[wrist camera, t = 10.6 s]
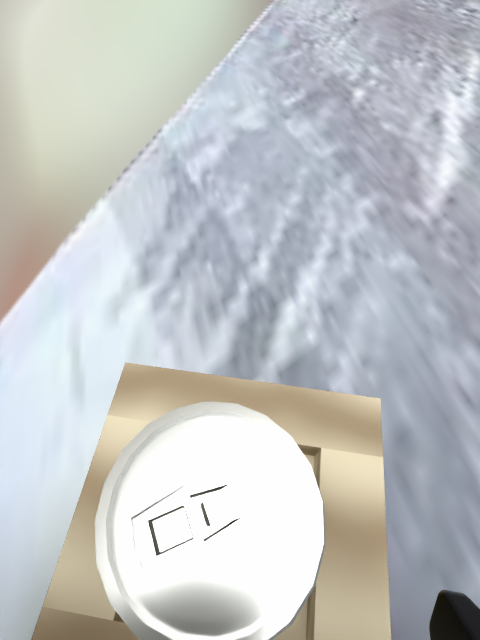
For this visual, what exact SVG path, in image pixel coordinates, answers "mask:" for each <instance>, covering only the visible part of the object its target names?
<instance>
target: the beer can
mask: <svg viewBox="0 0 480 640" xmlns="http://www.w3.org/2000/svg"><path fill="white" fill-rule="evenodd" d="M325 546H326V545H325V513H324V503H323V500H322V496H321V493H320V490H319V487H318V484H317V481H316V477H315V474H314V471H313V469H312V467H311V465H310V463H309V462H308V460H307V459H306V457H305V456H304V454H303V453H302V451H301V450H300V448H299V447H298V445H297V444H296V442H295V441H294V439H293V438H292V436H291V435H289V434H288V433H287V432H286V431H285V430H283V429H282V428H281V427H280V426H278V425H277V424H276V423H275V422H274V421H272V420H271V419H270V418H269V417H268V416H266V415H264V414H262V413H259V412H257V411H254V410H252V409H249V408H247V407H244V406H242V405H239V404H236V403H223V402H210V401H205V402H201V403H197V404H192V405H188V406H183V407H179V408H175V409H174V410H172V411H170V412H168V413H167V414H165V415H163V416H161V417H160V418H158V419H156V420H154V421H152V422H151V423H149V424H147V425H146V426H145V427H144V428H143V429H142V430H141V431H140V432H139V433H138V434H137V435H136V436H135V437H134V438H133V440H132V441H131V442H130V443H129V444H128V445H127V446H126V447H125V448H124V449H123V450H122V452H121V453H120V455H119V457H118V459H117V461H116V462H115V464H114V466H113V468H112V470H111V471H110V473H109V475H108V477H107V478H106V480H105V482H104V486H103V490H102V494H101V498H100V502H99V506H98V510H97V514H96V518H95V548H96V564H97V567H98V570H99V573H100V576H101V579H102V582H103V585H104V588H105V591H106V594H107V597H108V600H109V603H110V604H111V606H112V607H113V608H114V609H115V611H116V612H117V613H118V615H119V616H120V617H121V618H122V620H123V621H124V622H125V623H126V625H127V626H128V627H129V629H130V630H131V631H132V632H133V634H134V635H135V636H136V637H137V638H139V639H141V640H273V639H274V638H276V637H277V636H278V635H279V634H281V633H282V632H283V631H284V630H286V629H287V628H288V627H289V626H291V625H292V623H293V622H294V620H295V619H296V617H297V615H298V614H299V612H300V610H301V609H302V607H303V606H304V604H305V602H306V601H307V599H308V597H309V596H310V594H311V593H312V591H313V589H314V588H315V585H316V581H317V577H318V573H319V569H320V565H321V561H322V557H323V554H324V550H325Z"/></svg>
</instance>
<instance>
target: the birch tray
mask: <svg viewBox="0 0 480 640" xmlns="http://www.w3.org/2000/svg"><path fill="white" fill-rule="evenodd" d="M205 401H210V402H223V403H236V404H239V405H242V406H244V407H247V408H249V409H252V410H254V411H257V412H259V413H262V414H264V415H266V416H268V417H269V418H270V419H271V420H272V421H274V422H275V423H276V424H277V425H278V426H280V427H281V428H282V429H283V430H285V431H286V432H287V433H288V434H289V435H291V436H292V438H293V439H294V441H295V442H296V444H297V445H298V447H299V448H300V450H301V451H302V453H303V454H304V456H305V457H306V459H307V460H308V462H309V463H310V465H311V467H312V469H313V471H314V474H315V477H316V481H317V484H318V487H319V490H320V493H321V496H322V500H323V503H324V513H325V545H326V546H325V550H324V554H323V557H322V561H321V565H320V569H319V573H318V577H317V581H316V585H315V588H314V589H313V591H312V593H311V594H310V596H309V597H308V599H307V601H306V602H305V604H304V606H303V607H302V609H301V610H300V612H299V614H298V615H297V617H296V619H295V620H294V622H293V623H292V625H291V626H289V627H288V628H287V629H286V630H284V631H283V632H282V633H281V634H279V635H278V636H277V637H276V638H274V639H273V640H391V624H390V601H389V579H388V557H387V535H386V512H385V490H384V468H383V446H382V423H381V401H380V398H373V397H366V396H359V395H352V394H344V393H337V392H330V391H323V390H316V389H309V388H302V387H295V386H288V385H281V384H274V383H267V382H259V381H252V380H245V379H238V378H231V377H224V376H217V375H210V374H203V373H196V372H189V371H182V370H174V369H167V368H160V367H153V366H146V365H139V364H132V363H125V365H124V368H123V371H122V374H121V377H120V380H119V383H118V386H117V389H116V392H115V395H114V397H113V400H112V403H111V406H110V409H109V412H108V415H107V418H106V421H105V424H104V427H103V430H102V433H101V436H100V439H99V442H98V445H97V448H96V450H95V453H94V456H93V459H92V462H91V465H90V468H89V471H88V474H87V477H86V480H85V483H84V486H83V489H82V492H81V495H80V498H79V501H78V503H77V506H76V509H75V512H74V515H73V518H72V521H71V524H70V527H69V530H68V533H67V536H66V539H65V542H64V545H63V548H62V551H61V554H60V556H59V559H58V562H57V565H56V568H55V571H54V574H53V577H52V580H51V583H50V586H49V589H48V592H47V595H46V598H45V601H44V604H43V607H42V609H41V612H40V615H39V618H38V621H37V624H36V627H35V630H34V633H33V636H32V639H31V640H141V639H139V638H137V637H136V636H135V635H134V634H133V632H132V631H131V630H130V629H129V627H128V626H127V625H126V623H125V622H124V621H123V620H122V618H121V617H120V616H119V615H118V613H117V612H116V611H115V609H114V608H113V607H112V606H111V604H110V603H109V600H108V597H107V594H106V591H105V588H104V585H103V582H102V579H101V576H100V573H99V570H98V567H97V564H96V548H95V518H96V514H97V510H98V506H99V502H100V498H101V494H102V490H103V486H104V482H105V480H106V478H107V477H108V475H109V473H110V471H111V470H112V468H113V466H114V464H115V462H116V461H117V459H118V457H119V455H120V453H121V452H122V450H123V449H124V448H125V447H126V446H127V445H128V444H129V443H130V442H131V441H132V440H133V438H134V437H135V436H136V435H137V434H138V433H139V432H140V431H141V430H142V429H143V428H144V427H145V426H146V425H147V424H149V423H151V422H152V421H154V420H156V419H158V418H160V417H161V416H163V415H165V414H167V413H168V412H170V411H172V410H174V409H175V408H179V407H183V406H188V405H192V404H197V403H201V402H205Z"/></svg>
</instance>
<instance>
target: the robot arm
mask: <svg viewBox="0 0 480 640" xmlns="http://www.w3.org/2000/svg"><path fill="white" fill-rule="evenodd" d="M429 630H430V638H431V640H480V609H479V608H478V607H477V606H476V605H475V604H474V603H473V602H472V601H471V600H470V599H469V598H468V597H467V596H466V595H464V594H462V593H459V592H453V591H448V590H442V591H440V592H439V594H438V597H437V600H436V603H435V606H434V610H433V613H432V616H431V620H430V626H429Z"/></svg>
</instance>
